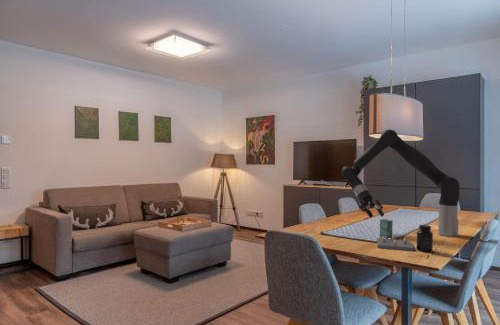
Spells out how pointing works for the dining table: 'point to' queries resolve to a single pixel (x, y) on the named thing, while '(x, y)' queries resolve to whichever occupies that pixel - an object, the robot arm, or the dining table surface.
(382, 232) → the teal block
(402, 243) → the base plate
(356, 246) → the dining table surface
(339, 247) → the dining table surface
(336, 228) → the dining table surface
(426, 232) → the supplement bottle
